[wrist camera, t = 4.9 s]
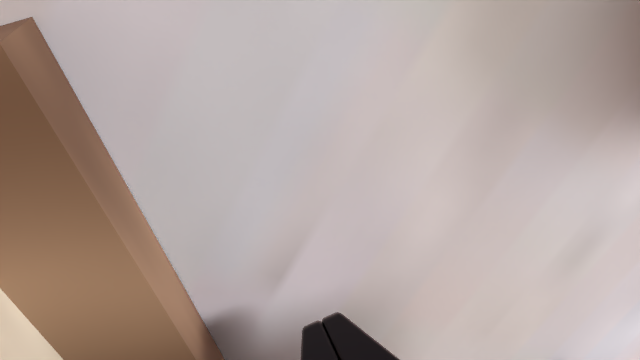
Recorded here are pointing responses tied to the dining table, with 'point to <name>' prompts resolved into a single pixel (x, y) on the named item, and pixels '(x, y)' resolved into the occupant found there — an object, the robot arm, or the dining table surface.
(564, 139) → the dining table surface
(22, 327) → the coaster
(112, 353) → the serving board
